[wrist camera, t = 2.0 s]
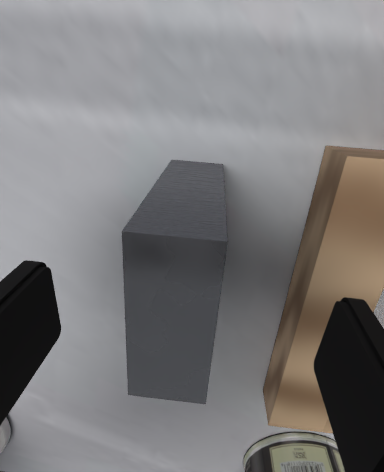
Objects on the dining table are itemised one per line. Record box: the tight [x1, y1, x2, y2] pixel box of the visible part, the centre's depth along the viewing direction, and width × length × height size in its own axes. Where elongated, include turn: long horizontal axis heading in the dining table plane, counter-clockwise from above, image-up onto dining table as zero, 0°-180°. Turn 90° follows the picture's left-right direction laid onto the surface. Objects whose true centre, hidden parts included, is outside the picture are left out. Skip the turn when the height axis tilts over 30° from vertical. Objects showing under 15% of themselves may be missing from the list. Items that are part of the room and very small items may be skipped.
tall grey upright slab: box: [122, 160, 228, 404], centre depth 14 cm, size 7×3×10 cm, turn 176°
